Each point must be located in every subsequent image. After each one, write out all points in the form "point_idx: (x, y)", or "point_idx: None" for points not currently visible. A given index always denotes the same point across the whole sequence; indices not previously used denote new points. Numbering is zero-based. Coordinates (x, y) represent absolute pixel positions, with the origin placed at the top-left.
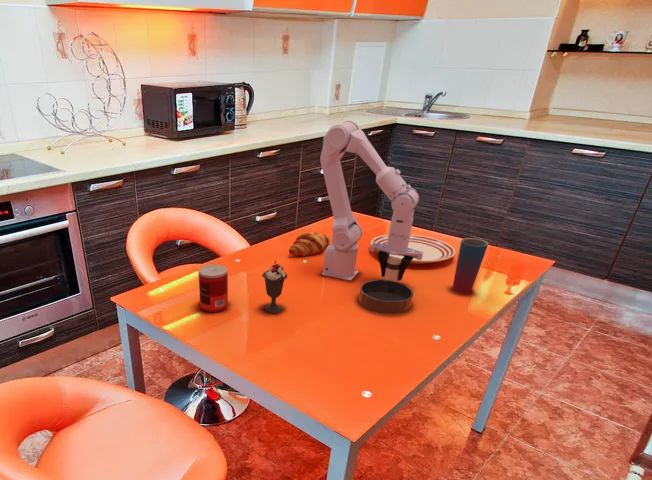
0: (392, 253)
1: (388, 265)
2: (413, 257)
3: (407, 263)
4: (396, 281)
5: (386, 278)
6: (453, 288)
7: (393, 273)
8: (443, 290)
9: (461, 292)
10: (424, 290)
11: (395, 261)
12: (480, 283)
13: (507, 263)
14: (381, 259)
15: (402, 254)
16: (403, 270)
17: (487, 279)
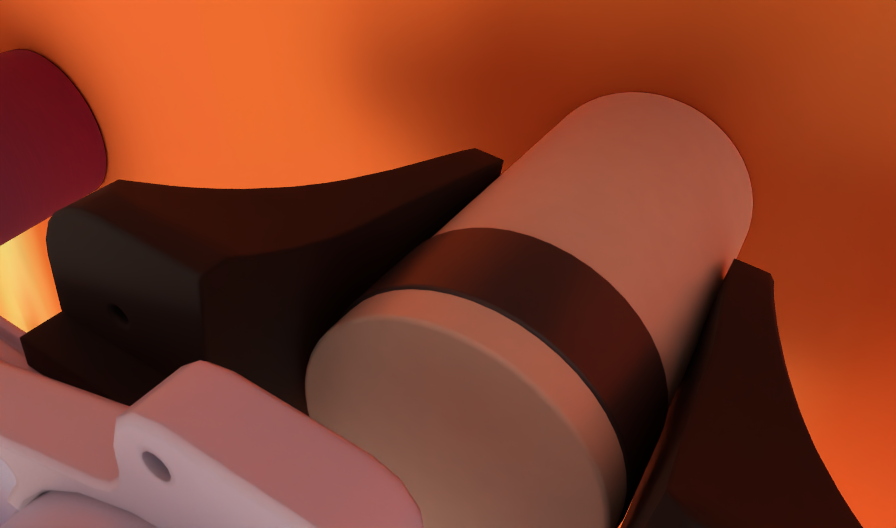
0: (272, 455)
1: (599, 337)
2: (28, 351)
3: (134, 187)
4: (531, 149)
5: (685, 192)
6: (63, 118)
7: (535, 195)
8: (147, 120)
9: (9, 54)
10: (270, 89)
11: (421, 392)
12: (29, 272)
13: None
14: (775, 514)
15: (79, 398)
16: (335, 188)
17: (27, 328)
